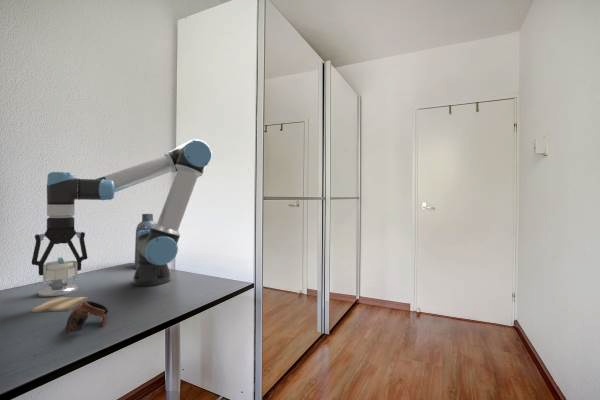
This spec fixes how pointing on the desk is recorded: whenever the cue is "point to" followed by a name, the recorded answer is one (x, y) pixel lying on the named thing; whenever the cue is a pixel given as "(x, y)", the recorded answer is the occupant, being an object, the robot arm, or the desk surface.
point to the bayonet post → (58, 288)
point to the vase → (144, 225)
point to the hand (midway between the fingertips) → (60, 282)
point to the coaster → (60, 304)
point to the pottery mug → (85, 315)
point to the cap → (60, 269)
